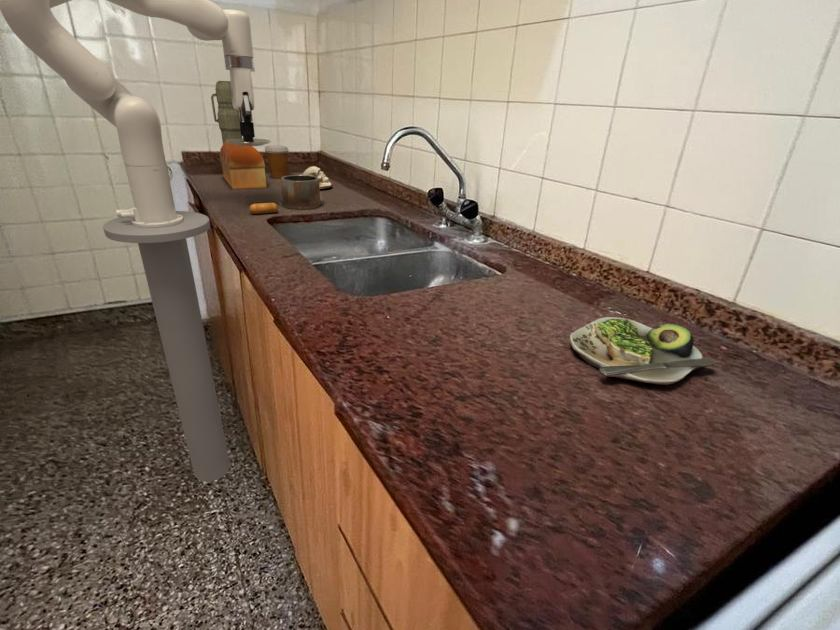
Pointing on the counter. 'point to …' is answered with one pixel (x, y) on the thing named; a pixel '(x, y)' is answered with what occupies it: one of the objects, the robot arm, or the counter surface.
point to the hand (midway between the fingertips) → (248, 136)
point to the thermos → (226, 112)
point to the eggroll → (263, 208)
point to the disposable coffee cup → (277, 160)
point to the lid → (248, 141)
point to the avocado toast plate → (638, 350)
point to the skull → (317, 173)
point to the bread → (242, 166)
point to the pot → (300, 191)
